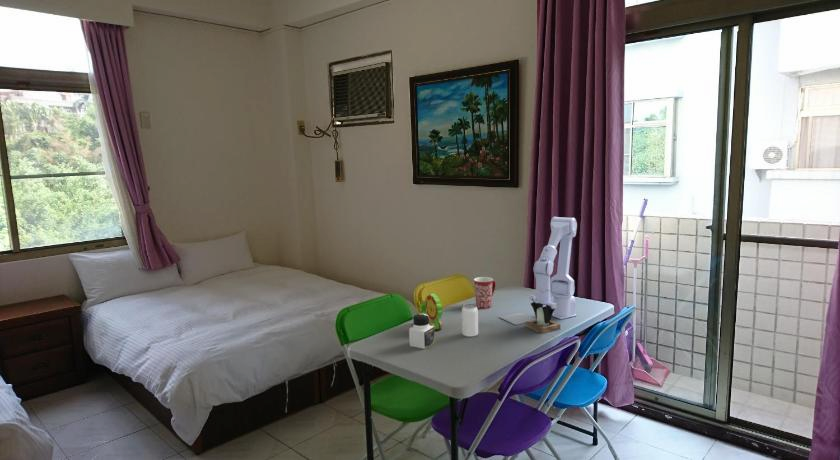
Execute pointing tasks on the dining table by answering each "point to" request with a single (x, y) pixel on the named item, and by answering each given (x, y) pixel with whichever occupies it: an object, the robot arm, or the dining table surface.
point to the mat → (517, 318)
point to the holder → (550, 327)
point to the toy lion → (433, 310)
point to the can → (469, 320)
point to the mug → (484, 291)
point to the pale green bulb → (541, 318)
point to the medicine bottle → (421, 332)
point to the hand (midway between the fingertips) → (542, 320)
